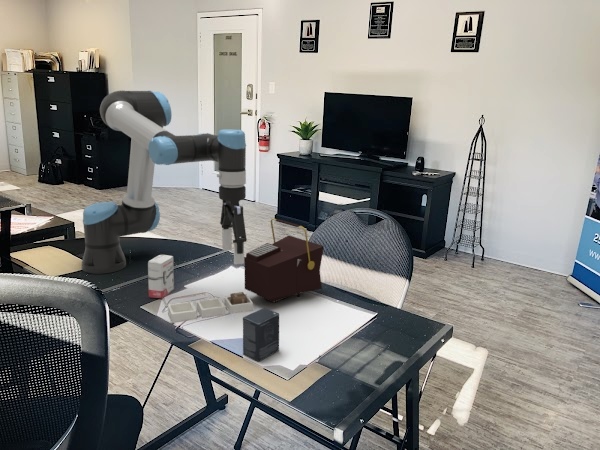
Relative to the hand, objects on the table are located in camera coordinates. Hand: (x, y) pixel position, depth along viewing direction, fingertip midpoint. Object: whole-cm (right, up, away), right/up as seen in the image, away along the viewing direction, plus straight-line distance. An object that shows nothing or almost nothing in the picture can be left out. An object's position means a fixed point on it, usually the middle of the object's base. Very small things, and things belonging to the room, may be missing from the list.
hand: (232, 256), depth 147 cm
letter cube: (+1, -16, +5) cm, 17 cm away
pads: (-12, -14, +13) cm, 22 cm away
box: (+10, -24, -19) cm, 32 cm away
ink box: (-25, -13, +15) cm, 32 cm away
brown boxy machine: (+14, -14, +15) cm, 25 cm away
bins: (-7, -17, +2) cm, 18 cm away
